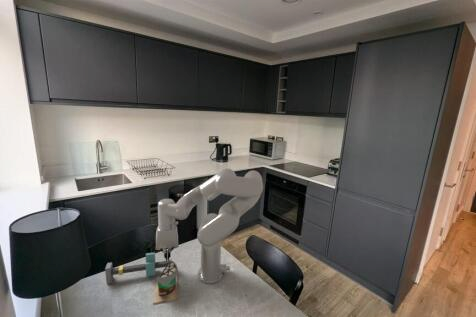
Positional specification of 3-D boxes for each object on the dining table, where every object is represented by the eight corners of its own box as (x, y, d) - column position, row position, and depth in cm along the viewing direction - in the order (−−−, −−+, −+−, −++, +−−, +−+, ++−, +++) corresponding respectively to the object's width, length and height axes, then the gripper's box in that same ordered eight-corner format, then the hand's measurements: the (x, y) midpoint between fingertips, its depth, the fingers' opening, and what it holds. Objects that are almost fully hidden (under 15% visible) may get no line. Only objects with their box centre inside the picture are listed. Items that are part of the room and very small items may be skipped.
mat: (177, 277, 110) (176, 276, 110) (178, 299, 98) (178, 298, 98) (154, 281, 107) (154, 280, 107) (153, 304, 95) (153, 303, 95)
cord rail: (172, 268, 116) (172, 254, 115) (172, 273, 113) (172, 259, 111) (108, 277, 108) (107, 263, 106) (106, 284, 104) (105, 268, 103)
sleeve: (155, 267, 115) (155, 249, 112) (155, 275, 109) (154, 256, 107) (147, 268, 113) (146, 250, 111) (146, 276, 108) (145, 258, 106)
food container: (170, 300, 96) (170, 280, 94) (157, 298, 97) (156, 278, 95) (182, 279, 108) (182, 261, 106) (170, 277, 109) (169, 259, 107)
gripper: (182, 219, 114) (182, 252, 118) (150, 222, 110) (151, 256, 114) (183, 227, 107) (183, 261, 111) (149, 230, 103) (150, 266, 107)
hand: (167, 258), depth 112 cm, fingers closed
